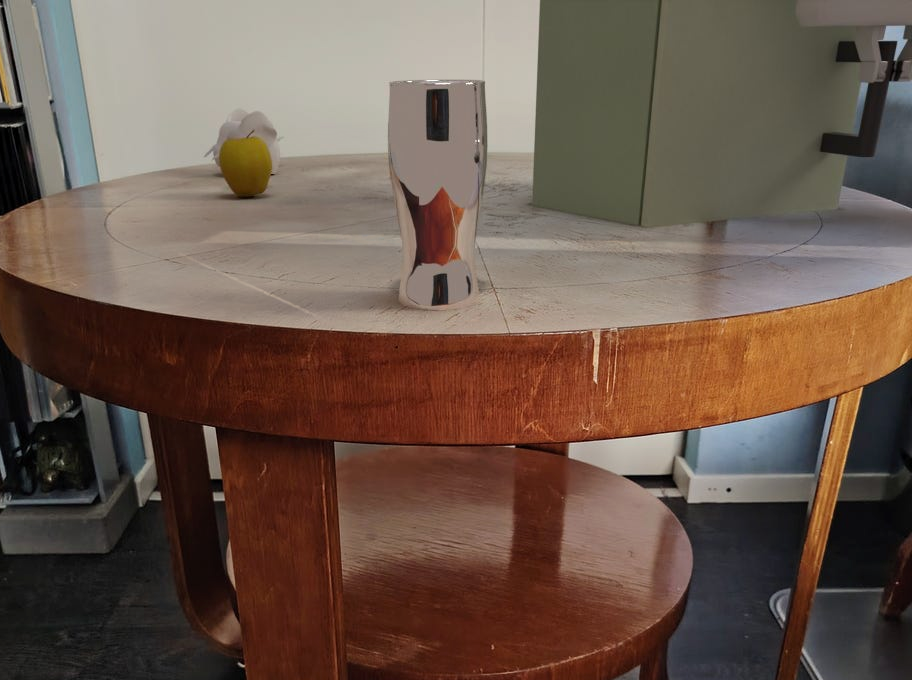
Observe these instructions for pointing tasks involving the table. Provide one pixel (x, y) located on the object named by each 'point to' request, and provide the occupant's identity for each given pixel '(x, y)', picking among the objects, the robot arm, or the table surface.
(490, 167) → the table surface
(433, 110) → the beer glass
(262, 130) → the elephant figurine
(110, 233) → the table surface
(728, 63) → the door
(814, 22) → the robot arm
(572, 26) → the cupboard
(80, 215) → the table surface
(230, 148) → the apple
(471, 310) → the table surface
